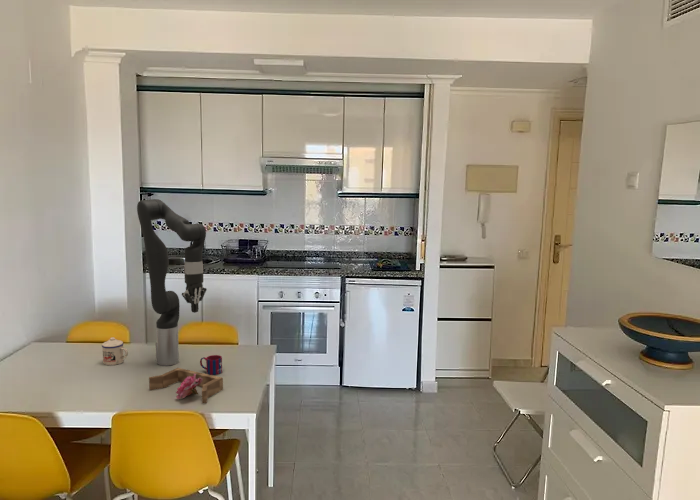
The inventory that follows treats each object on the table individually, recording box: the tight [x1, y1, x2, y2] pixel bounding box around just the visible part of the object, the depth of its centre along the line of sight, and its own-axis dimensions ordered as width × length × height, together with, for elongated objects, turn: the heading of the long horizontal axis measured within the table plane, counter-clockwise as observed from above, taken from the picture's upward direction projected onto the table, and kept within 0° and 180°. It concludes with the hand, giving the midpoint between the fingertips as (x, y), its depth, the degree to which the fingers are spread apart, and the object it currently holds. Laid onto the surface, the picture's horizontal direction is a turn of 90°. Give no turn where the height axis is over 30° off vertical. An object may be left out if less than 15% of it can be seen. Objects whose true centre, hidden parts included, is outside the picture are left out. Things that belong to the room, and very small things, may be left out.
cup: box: [199, 354, 223, 376], centre depth 234 cm, size 7×10×7 cm
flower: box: [175, 374, 203, 400], centre depth 207 cm, size 11×10×10 cm
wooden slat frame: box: [148, 367, 224, 404], centre depth 214 cm, size 29×14×5 cm, turn 65°
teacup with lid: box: [101, 337, 129, 366], centre depth 243 cm, size 12×9×12 cm
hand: (194, 312), depth 223 cm, fingers closed
